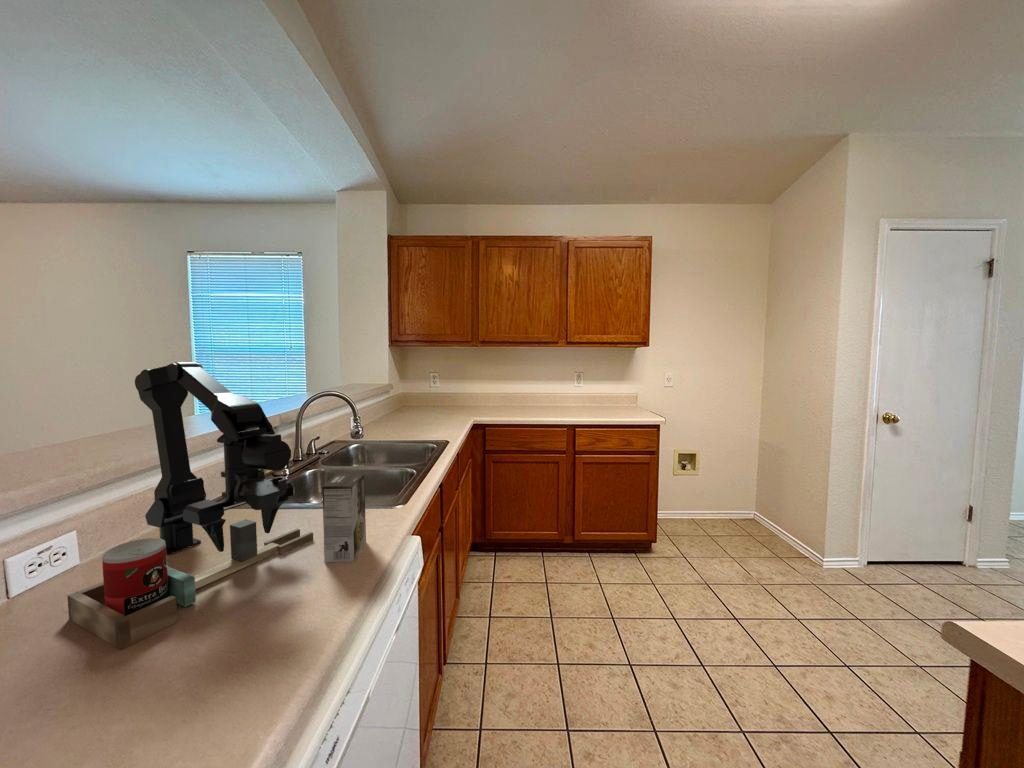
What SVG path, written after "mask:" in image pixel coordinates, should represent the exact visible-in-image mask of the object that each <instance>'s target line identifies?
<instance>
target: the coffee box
mask: <svg viewBox="0 0 1024 768" xmlns="http://www.w3.org/2000/svg"><path fill="white" fill-rule="evenodd" d="M365 485H366V484H365V473H335V475H334V476H332V477H331V478H330V479H328V481H326V483H325V484H323V485H322V486H321V489H322V519H323V520H322V521H323V522H322V523H323V527H322V528H323V549H324V550H323V555H324V557H323V558H324V560H323V561H324V563H345V562H347V563H348V562H350V563H351V562H355V561H356V559H357V558H358V556H359V555H360V553H361V551H362V550H363V548H364V546H365V545H366V542H367V530H366V529H367V528H366V527H367V525H366V522H367V521H366V495H365V493H366V492H365V491H366V489H365V487H366V486H365Z"/></svg>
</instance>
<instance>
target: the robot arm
mask: <svg viewBox="0 0 1024 768" xmlns="http://www.w3.org/2000/svg"><path fill="white" fill-rule="evenodd" d="M134 387H135V388H136V390H137V393H138V395H139V400H140V401H141V402H142V403H143V404H144V405H145V406H146V407H147V408H148V409H149V410H151V413H152V419H153V420H152V421H153V426H154V433H155V439H156V446H157V450H158V451H157V453H158V458H159V464H160V465H159V466H160V472H161V478H160V480H159V482H158V484H157V486H156V488H155V489H154V491H153V493H154V495H153V496H154V502H152V505H151V506H150V507H149V509H148V510H147V512H146V514H145V515H144V517H145V520H146V524H147V525H148V526H152V527H155V528H159V539H163V540H165V544H166V552H167V555H172V554H175V553H177V552H180V551H182V550H186V549H188V548H191V547H194V546H196V545H199V544H201V543H202V540H201V539H198V538H195V537H194V529H193V528H194V526H193V525H194V524H195V525H197V526H200V527H201V528H202V529H203V530H204V531H205V532H206V534H207V535H208V537H209V538H210V540H211V542H212V544H213V545H214V546H215V548H216V549H217V551H218V552H220V553H223V552H224V551H225V538H224V529H223V528H224V525H225V523H226V521H227V519H225V518H223V517H224V515H225V511H228V510H231V509H234V508H237V507H241V506H244V505H246V504H247V505H248V506H250V508H251V509H252V510H254V511H260V513H261V519H262V520H261V521H262V527H263V530H264V533H265V534H270V533H271V530H272V528H273V523H274V522H275V518H276V516H277V513H278V511H279V509H280V507H281V506H282V505H283V504H284V503H285V502H288V501H289V499H290V497H293V496H295V486H294V484H293V483H292V482H291V481H288V480H287V478H286V477H285V476H282V475H281V476H278V477H274V478H270V479H266V476H265V470H266V471H272V472H277V471H278V472H279V471H281V470H282V469H284V468H285V467H287V465H288V464H289V463H290V461H291V458H292V449H291V448H290V446H289V444H288V443H287V442H285V441H284V440H282V435H281V434H280V433H279V434H278V433H276V432H275V430H274V428H273V425H272V423H271V422H270V421H269V419H268V417H267V415H266V414H265V412H264V410H263V407H261V405H260V404H259V403H258V402H256V401H255V400H253V399H251V398H248V397H246V396H241V395H239V394H235V393H232V391H230V390H229V389H227V388H226V387H225V386H224V385H223V384H222V383H220V382H219V381H218V380H217V379H216V378H214V377H213V376H212V375H210V374H209V373H208V372H207V371H206V370H204V368H203V366H202V364H200V363H199V362H196V361H190V362H188V361H187V362H186V361H181V362H180V361H179V362H178V361H176V362H173V363H169V364H167V365H163V366H160V367H155V368H151V369H147V368H146V369H143V370H142V371H140V373H139V374H137V375H136V376H135V378H134ZM189 394H191V395H193V397H195V398H196V399H197V400H198V401H199V402H200V403H201V404H202V405H204V406H205V408H207V409H208V410H209V411H210V412H211V414H210V421H211V422H212V423H213V424H214V425H215V427H216V428H217V429H218V431H220V433H222V435H220V436H219V437H218V438H217V439H216V443H219V444H223V454H224V455H223V456H224V457H223V458H224V459H223V460H224V470H222V471H220V476H221V478H224V482H225V483H224V484H225V491H222V492H221V498H224V500H221V501H214V500H211V499H207V493H206V490H205V483H204V482H205V480H204V479H203V478H202V477H198V476H196V475H195V474H194V473H193V472H192V471H191V464H190V459H189V452H188V444H187V439H186V437H187V436H186V433H185V424H184V419H183V414H182V413H183V412H182V406H183V404H184V403H185V401H186V399H187V397H188V395H189Z"/></svg>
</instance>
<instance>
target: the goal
mask: <svg viewBox="0 0 1024 768" xmlns="http://www.w3.org/2000/svg"><path fill="white" fill-rule="evenodd" d="M66 597H67V611H68V620H69V621H71V622H73V623H75V624H76V625H78V626H80V627H82V628H83V629H84V630H86V631H88V632H90V633H91V634H93V635H95V636H96V637H98V638H100V639H101V640H103V641H105V642H106V643H108V644H110V645H112V646H113V647H115V648H117V649H118V650H120V651H122V650H123V649H125V648H127V647H129V646H131V645H134V644H136V643H138V642H140V641H141V640H144V639H146V638H148V637H149V636H152V635H154V634H156V633H158V632H159V631H162V630H164V629H166V628H168V627H169V626H172V625H174V624H175V623H176V624H177V622H178V613H177V609H178V608H177V603H176V597H174V596H170V597H167V598H165V599H163V600H161V601H158V602H156V603H154V604H152V605H149V606H147V607H145V608H143V609H141V610H138V611H136V612H134V613H132V614H129V615H127V616H124V615H122V614H120V613H118V612H116V611H114V610H113V609H111V608H109V607H107V606H105V595H104V581H102V582H100V583H97V584H93V585H92V586H89V587H85V588H83V589H81V590H76V591H75V592H73V593H69V594H67V596H66Z"/></svg>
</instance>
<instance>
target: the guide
mask: <svg viewBox="0 0 1024 768" xmlns="http://www.w3.org/2000/svg"><path fill="white" fill-rule="evenodd" d="M313 541H314V532H312V531H309V532H307V533H304V534H302V535H301V529H300V528H295V529H293V530H291V531H288V532H286V533H283V534H280V535H278V536H276V537H273V538H272V539H268V540H266V541H264V543H263V546H265V545H268V544H270V543H275V544H278V545H279V546H278V552H277V555H279V556H284V555H286V554H287V553H289V552H291V551H293V550H296V549H297V548H300V547H302V546H304V545H306V544H309V543H311V542H313Z"/></svg>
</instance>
